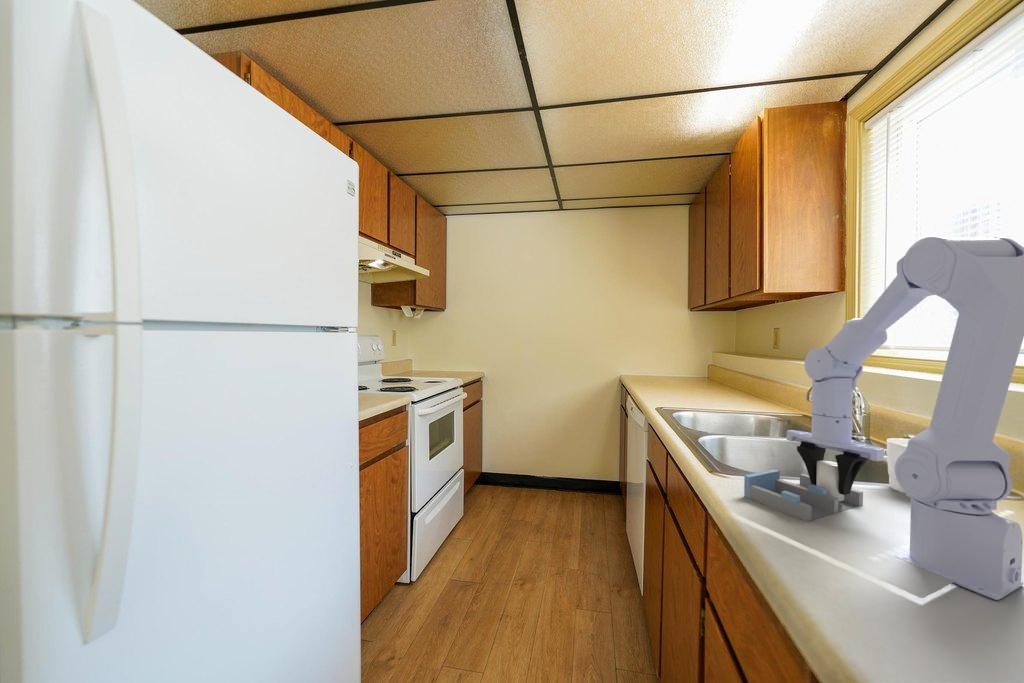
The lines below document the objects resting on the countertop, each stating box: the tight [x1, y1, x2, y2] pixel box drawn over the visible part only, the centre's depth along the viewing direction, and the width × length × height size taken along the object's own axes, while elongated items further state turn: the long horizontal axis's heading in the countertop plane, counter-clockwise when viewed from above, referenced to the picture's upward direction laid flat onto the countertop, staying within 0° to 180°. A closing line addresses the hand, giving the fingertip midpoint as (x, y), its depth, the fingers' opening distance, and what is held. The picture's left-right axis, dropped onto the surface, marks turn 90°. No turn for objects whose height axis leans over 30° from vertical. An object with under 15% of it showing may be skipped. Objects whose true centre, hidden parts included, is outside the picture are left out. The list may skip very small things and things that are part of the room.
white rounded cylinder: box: [816, 460, 844, 501], centre depth 72 cm, size 4×4×6 cm
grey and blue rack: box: [743, 469, 864, 523], centre depth 73 cm, size 11×16×5 cm
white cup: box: [886, 437, 911, 494], centre depth 79 cm, size 8×8×10 cm
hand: (830, 488), depth 72 cm, fingers closed on white rounded cylinder, 4 cm apart
